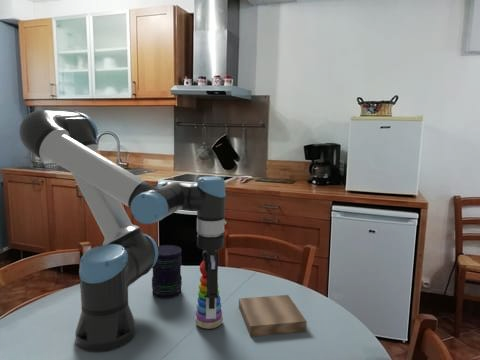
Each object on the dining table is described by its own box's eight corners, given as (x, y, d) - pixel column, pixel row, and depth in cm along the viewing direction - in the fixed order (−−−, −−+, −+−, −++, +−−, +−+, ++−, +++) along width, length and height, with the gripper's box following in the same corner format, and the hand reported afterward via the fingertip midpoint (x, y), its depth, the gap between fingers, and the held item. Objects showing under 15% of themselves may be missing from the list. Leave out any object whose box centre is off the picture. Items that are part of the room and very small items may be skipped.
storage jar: (185, 286, 128) (185, 245, 126) (177, 300, 118) (177, 256, 116) (157, 285, 129) (156, 244, 127) (147, 298, 119) (146, 254, 117)
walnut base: (250, 336, 99) (250, 326, 99) (238, 307, 114) (239, 298, 114) (306, 331, 102) (306, 321, 102) (287, 303, 118) (288, 294, 117)
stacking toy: (224, 316, 108) (226, 255, 105) (220, 331, 101) (222, 266, 98) (198, 314, 109) (199, 254, 106) (192, 328, 101) (193, 264, 98)
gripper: (230, 244, 92) (228, 329, 95) (219, 222, 111) (217, 293, 115) (200, 245, 90) (199, 331, 94) (194, 223, 110) (193, 294, 113)
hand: (209, 310), depth 104 cm, fingers closed on stacking toy, 7 cm apart
